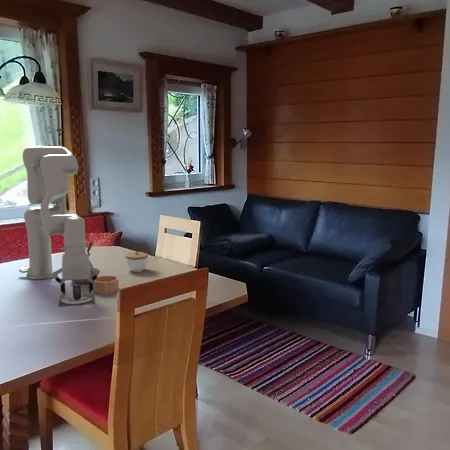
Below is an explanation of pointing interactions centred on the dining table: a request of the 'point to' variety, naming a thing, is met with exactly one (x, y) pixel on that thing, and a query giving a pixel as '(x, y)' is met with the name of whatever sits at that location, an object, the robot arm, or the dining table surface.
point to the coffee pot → (90, 270)
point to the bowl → (106, 284)
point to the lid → (77, 296)
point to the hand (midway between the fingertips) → (77, 292)
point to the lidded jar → (136, 261)
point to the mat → (76, 305)
